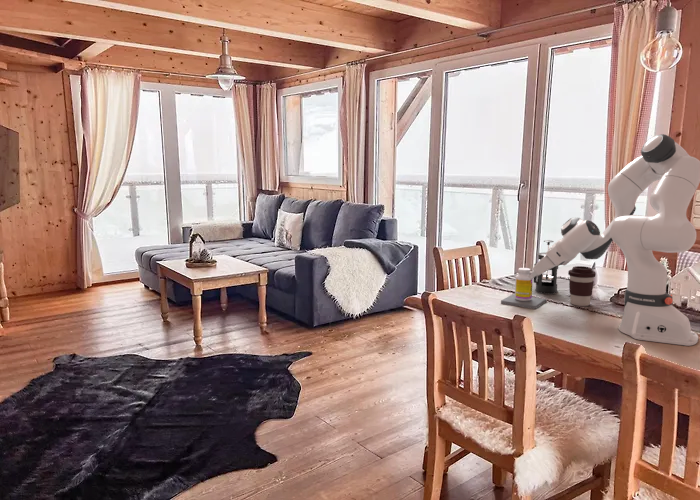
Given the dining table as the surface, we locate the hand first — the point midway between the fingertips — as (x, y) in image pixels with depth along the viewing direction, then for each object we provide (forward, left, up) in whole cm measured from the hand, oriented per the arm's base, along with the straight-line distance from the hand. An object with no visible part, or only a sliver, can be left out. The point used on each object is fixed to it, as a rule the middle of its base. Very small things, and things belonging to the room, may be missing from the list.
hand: (533, 275), depth 200 cm
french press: (+3, -25, -12) cm, 28 cm away
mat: (+4, -1, -12) cm, 13 cm away
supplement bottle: (+4, -1, -11) cm, 12 cm away
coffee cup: (-15, -12, -12) cm, 23 cm away
